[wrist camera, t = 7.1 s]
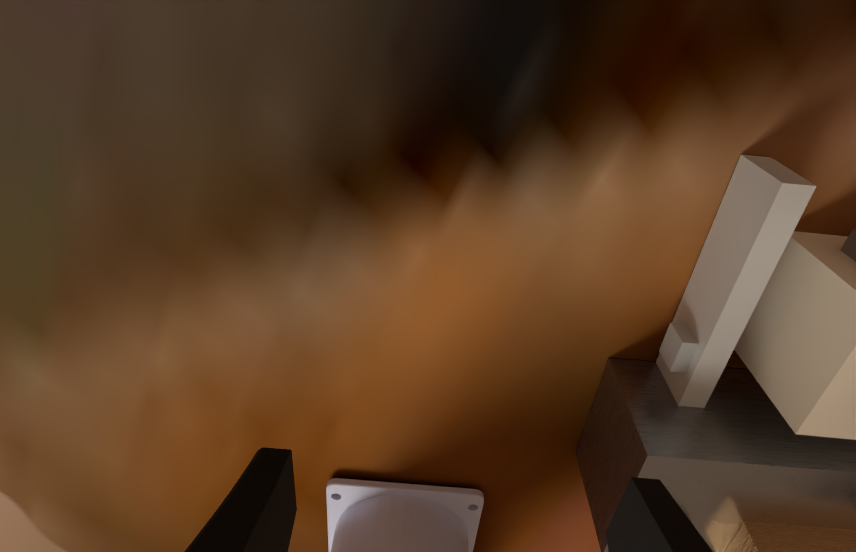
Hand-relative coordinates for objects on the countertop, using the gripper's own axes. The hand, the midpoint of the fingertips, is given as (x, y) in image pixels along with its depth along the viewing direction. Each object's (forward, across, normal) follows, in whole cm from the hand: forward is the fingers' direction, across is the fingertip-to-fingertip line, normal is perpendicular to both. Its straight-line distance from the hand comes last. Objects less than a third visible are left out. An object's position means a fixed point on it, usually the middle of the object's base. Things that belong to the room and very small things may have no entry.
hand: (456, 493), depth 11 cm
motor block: (+10, -14, +7) cm, 19 cm away
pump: (+10, -14, 0) cm, 17 cm away
